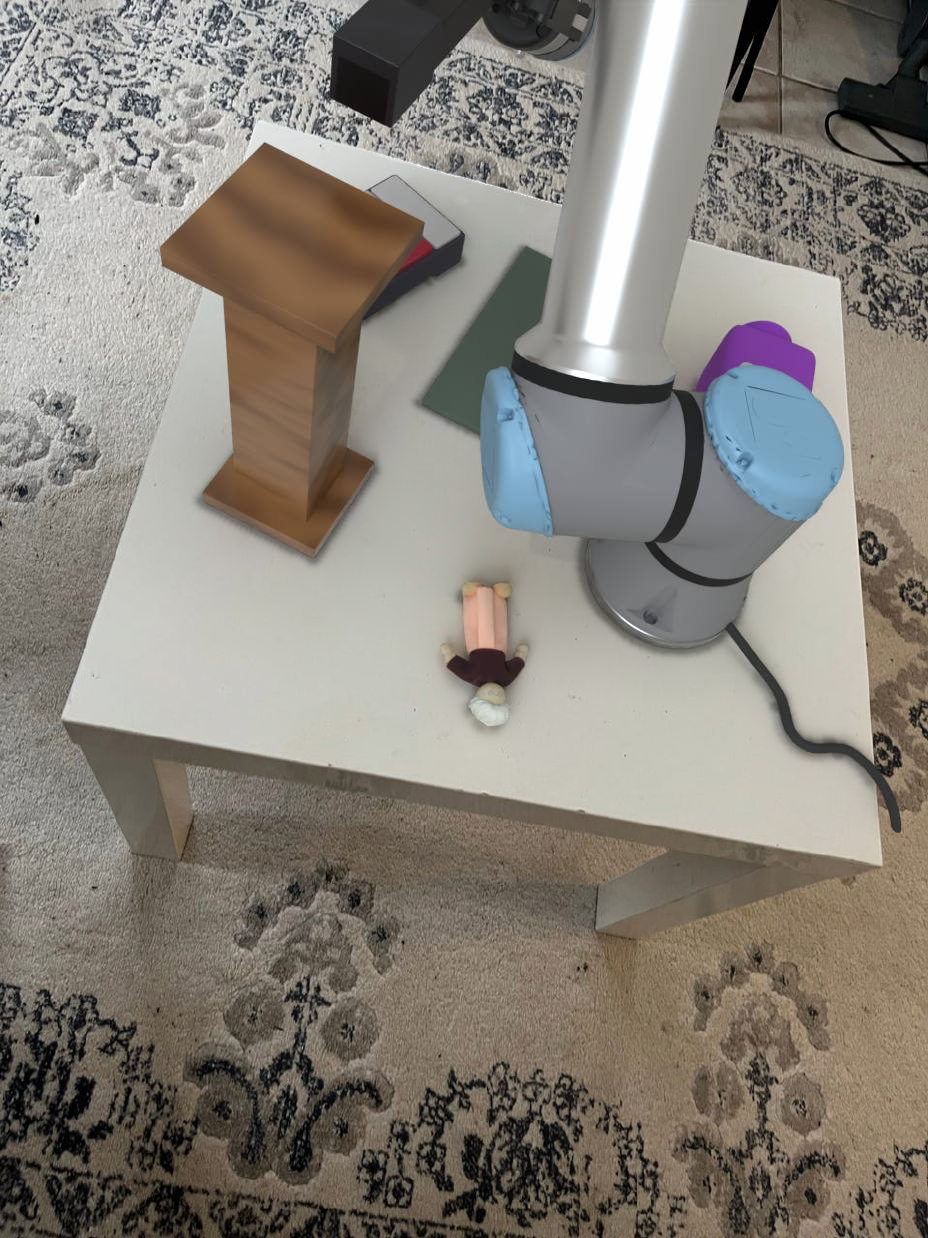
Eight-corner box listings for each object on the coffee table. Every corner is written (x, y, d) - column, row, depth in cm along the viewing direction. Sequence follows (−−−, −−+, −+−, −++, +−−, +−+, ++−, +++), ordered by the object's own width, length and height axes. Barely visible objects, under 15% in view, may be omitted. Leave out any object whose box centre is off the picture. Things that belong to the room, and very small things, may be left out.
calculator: (286, 228, 89) (395, 166, 95) (288, 261, 93) (392, 199, 99) (361, 296, 87) (468, 228, 93) (359, 327, 91) (462, 260, 97)
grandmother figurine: (525, 576, 77) (541, 713, 71) (521, 598, 80) (536, 731, 74) (436, 579, 76) (444, 718, 70) (435, 601, 80) (443, 736, 74)
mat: (524, 249, 100) (525, 245, 99) (612, 293, 99) (614, 289, 99) (421, 404, 87) (422, 400, 87) (521, 455, 87) (522, 452, 87)
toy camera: (774, 375, 98) (823, 308, 90) (781, 476, 92) (834, 415, 83) (681, 354, 97) (722, 284, 88) (682, 455, 91) (726, 391, 82)
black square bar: (474, -52, 66) (485, -115, 63) (526, -26, 66) (541, -87, 63) (328, 97, 56) (332, 33, 52) (390, 129, 56) (399, 66, 52)
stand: (267, 411, 84) (264, 140, 59) (380, 469, 83) (425, 221, 59) (194, 503, 78) (158, 246, 53) (316, 566, 78) (336, 336, 53)
